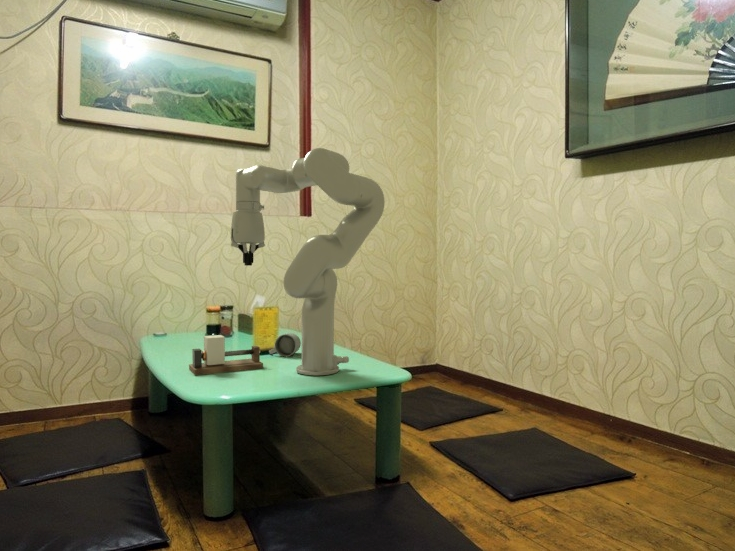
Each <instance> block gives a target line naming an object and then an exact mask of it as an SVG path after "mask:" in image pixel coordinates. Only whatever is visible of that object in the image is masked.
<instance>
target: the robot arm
mask: <svg viewBox="0 0 735 551" xmlns="http://www.w3.org/2000/svg"><path fill="white" fill-rule="evenodd" d="M316 186H317V187H318V188H320V190H322V191H323V192H324V193H325V194H326V195H327V196H328V197H329V198H330V199H332V200H333V201H334V202H335V203H337V204H341V205H344V206H345V205H346V206H351V207H353V209H352V210H351V211H350V212H349V213H348V214H346V215H345V216H344V217H343V218H342V220H341V221H340V222H339V224H338V225H337V227H336V228H335V229H334V230H333V232H332V233H331V234H316V235H313V236H312V237H310V238H309V239H308V240H306V241H305V242H304V244H303V245H302V247H301V248H300V249H299V251H298V253H297V254H296V255H295V257H294V259H293V260H292V261H291V263H290V265H289V266H288V268H287V270H286V271H285V274H284V277H283V287H284V290H285V292H286V294H287V295H289V296H290V298H291V297H292V298H295V299H304V301H303V304H302V308H301V364H300V365H298V366H297V367H296V368H295V371H296V373H298V374H301V375H303V376H304V375H305V376H329V375H333V374H336V373H339V372H340V367H339V365H340V364H349V362H350V358H349V356H348V355H346V356H337V355H336V354H335V302H336V301H335V300H336V295H337V294H336V293H337V288H338V277H337V274H336V272H335V271H334V270H338V269H343V268H345V267H347V265H348V264H349V263H350V262H351V260H352V259H353V257H354V256H355V255H356V254H357V252H358V251H359V249H360V248H361V246H362V245H363V244H364V242H365V241H366V239H367V238H368V236H369V235H370V234H371V232H372V231H373V229H374V228H375V227H376V226H377V224H378V223H379V221H380V220H381V218H382V216H383V214H384V211H385V204H386V203H385V195H384V192H383V189H382V188H381V186H380V185H379V183H378V182H376V181H375V180H373V179H372V178H369V177H366V176H364V175H363V176H362V175H358V174H356V173H355V174H354V173H351V172H350V163H349V161H348V159H347V158H346V157H345V156H344V155H343V154H341V153H339V152H335V151H333V150H329V149H327V148H323V147H316V148H312V149H311V150H310V151H308V152H307V153H306V155H305V157H301V158H300V157H299V158H298V159H296V160H295V161H294V162H293V164H292V168H288V169H280V168H275V167H270V166H266V165H254V166H252V167H249V168H240V169H237V171H236V172H235V211H233V212H232V217H231V226H230V242H231V244H230V246H231V247H233V248H238V250H239V251H240V252H241V253H242V262H243V264H244V266H246V267H247V266H252V265H253V263H254V253H256V251H257V250H258V249H260V248H261V249H262V248H264V247H265V246H266V244H265V239H266V237H265V234H266V233H265V231H266V230H265V224H264V216H263V213H262V212H261V211H263V210H265V205H263V204H261V192H262V191H263V192H270V193H274V194H275V193H276V194H286V193H287V194H288V193H294V192H299V191H302V190H303V189H305V188H308V187H309V188H310V187H316ZM247 244H249V247H248V246H247Z"/></svg>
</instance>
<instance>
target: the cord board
mask: <svg viewBox="0 0 735 551" xmlns="http://www.w3.org/2000/svg"><path fill="white" fill-rule="evenodd" d="M251 349H253V350H254V354H251V358H240V359H233V360H232V359H231V360H225V364H216V365H207V364H205V363H204V362H202V367H200V368H194V367H193V363H190V364H188V370H189V371H190V372H191V374H193V375H194V376H199V375H200V376H201V375H202V376H203V375H211V374H220V373H230V372H240V371H241V372H242V371H249V370H250V371H251V370H258V369H264V363H263V362H262V361H260V360H261V359H260V357H261V356H260V346H258V345H251Z"/></svg>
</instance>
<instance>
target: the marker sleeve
mask: <svg viewBox="0 0 735 551" xmlns="http://www.w3.org/2000/svg"><path fill="white" fill-rule="evenodd" d="M225 339H226V338H225V336H224V335H222V334H218V335H217V334H214V335H204V336H203V351H206V361H203V363H205V364H207V365H216V364H225V361H226V359H225V358H226V357H225V350H226V347H225V346H226V343H225V341H226V340H225Z"/></svg>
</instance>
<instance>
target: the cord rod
mask: <svg viewBox="0 0 735 551" xmlns="http://www.w3.org/2000/svg"><path fill="white" fill-rule="evenodd" d="M191 351H192V357H191V359H192V364H193V367H194V368H200V367H202V363H203V362H204V361H206V351H204V350H202V349H201V348H193V349H191ZM252 354H254V350H253V349H252V348H251V349H241V350H226V351H225V358H226V357H235V356H237V357H238V356H247V355H252ZM202 361H203V362H202Z"/></svg>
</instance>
